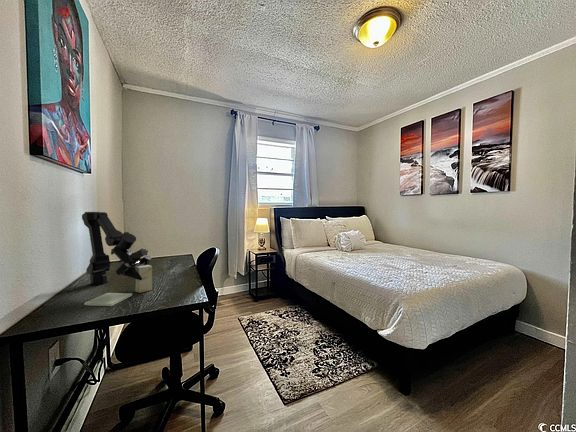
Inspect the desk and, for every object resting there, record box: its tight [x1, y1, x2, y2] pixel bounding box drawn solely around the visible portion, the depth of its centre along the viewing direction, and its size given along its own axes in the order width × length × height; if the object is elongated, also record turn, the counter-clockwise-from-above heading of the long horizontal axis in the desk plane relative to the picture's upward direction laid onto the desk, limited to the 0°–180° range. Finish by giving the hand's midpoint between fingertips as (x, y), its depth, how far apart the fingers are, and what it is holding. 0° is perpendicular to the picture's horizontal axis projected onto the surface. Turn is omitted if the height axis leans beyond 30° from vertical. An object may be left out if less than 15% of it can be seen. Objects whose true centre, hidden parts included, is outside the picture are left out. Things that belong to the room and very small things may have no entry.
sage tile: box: [83, 292, 133, 307], centre depth 105 cm, size 12×12×1 cm
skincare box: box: [134, 264, 153, 294], centre depth 118 cm, size 6×4×12 cm
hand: (146, 277), depth 118 cm, fingers closed on skincare box, 7 cm apart
